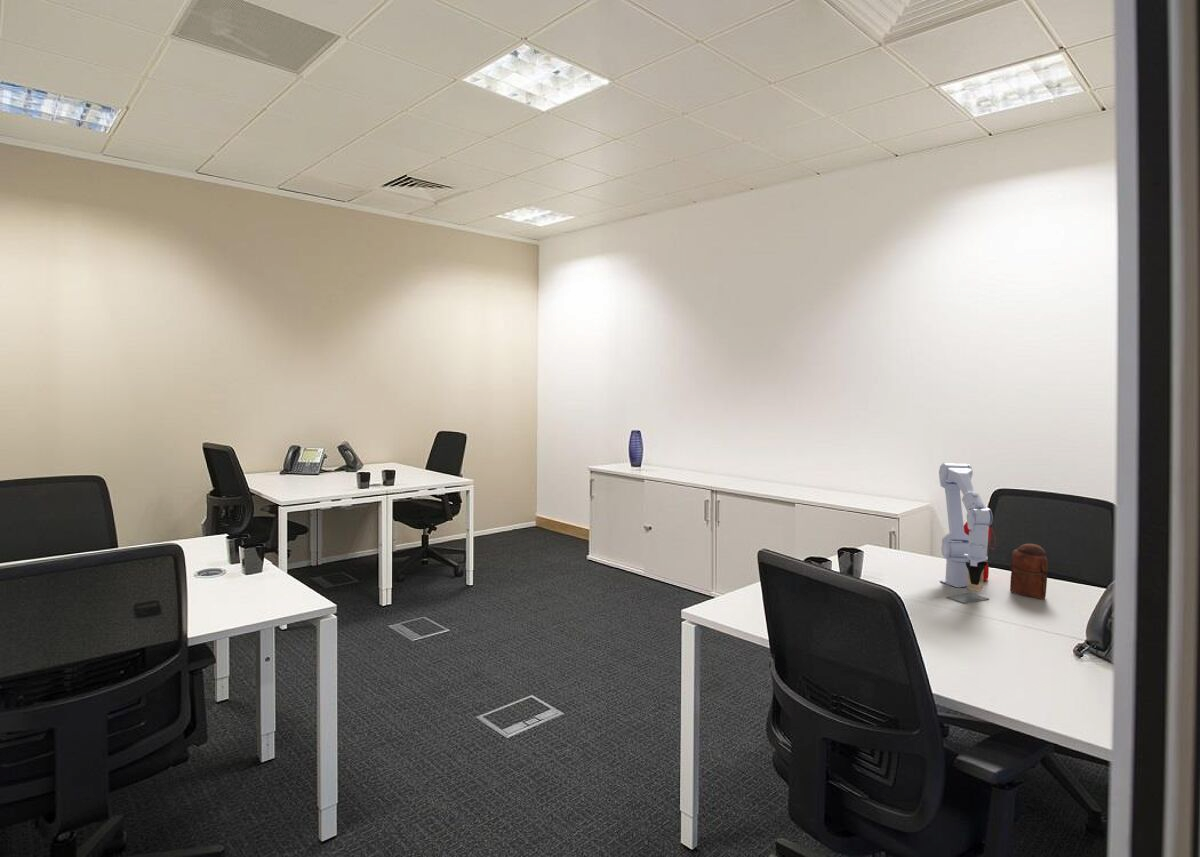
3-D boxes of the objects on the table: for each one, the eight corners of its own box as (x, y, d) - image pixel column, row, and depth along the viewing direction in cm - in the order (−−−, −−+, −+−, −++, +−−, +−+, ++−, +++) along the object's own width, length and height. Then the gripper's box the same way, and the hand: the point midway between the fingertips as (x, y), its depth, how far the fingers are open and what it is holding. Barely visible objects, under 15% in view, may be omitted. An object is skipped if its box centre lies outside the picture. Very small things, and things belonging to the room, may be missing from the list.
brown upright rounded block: (1050, 597, 233) (1054, 546, 231) (1044, 601, 229) (1047, 548, 227) (1013, 588, 242) (1016, 539, 241) (1005, 592, 238) (1008, 541, 237)
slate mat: (970, 593, 236) (970, 592, 236) (989, 599, 229) (989, 598, 229) (945, 597, 231) (945, 596, 231) (963, 603, 225) (963, 602, 225)
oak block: (969, 586, 233) (970, 566, 233) (982, 588, 231) (983, 568, 231) (967, 588, 230) (968, 568, 230) (980, 591, 228) (981, 570, 227)
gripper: (968, 537, 238) (966, 575, 239) (960, 545, 226) (958, 585, 227) (991, 540, 233) (989, 579, 234) (985, 548, 222) (982, 589, 223)
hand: (975, 582), depth 230 cm, fingers closed on oak block, 4 cm apart
